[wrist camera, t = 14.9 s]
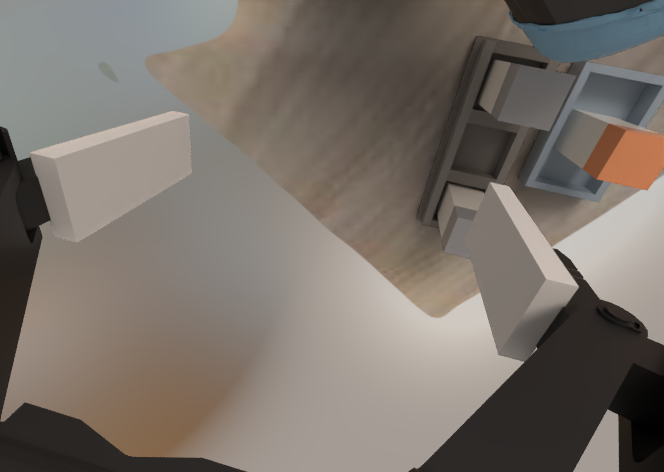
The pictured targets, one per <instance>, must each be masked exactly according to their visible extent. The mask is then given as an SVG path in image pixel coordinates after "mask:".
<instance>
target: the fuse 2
mask: <svg viewBox="0 0 664 472" xmlns="http://www.w3.org/2000/svg"><path fill="white" fill-rule="evenodd" d="M575 78H576V75H571V74H566V73H561V72H556V71H551V70H546V69H540V68H535V67H530V66H525V65H520V64H515V63H510V62H505V61H499V60H494V59H492V61H491V64H490V66H489V69H488V72H487V74H486V77H485V80H484V83H483V85H482V88H481V91H480V94H479V96H478V99H477V103H478V104H479V105H480V106H482V107H483V108H484V109H485V110H486V111H487V112H488V113H490V114H491V115H492V116H493V117H494V118H495V119H496V120H498V121H502V122H507V123H512V124H517V125H521V126H526V127H531V128H536V129H541V130H545V131H550V128H551V126H552V124H553V122H554V120H555V118H556V116H557V114H558V112H559V110H560V108H561V106H562V104H563V102H564V100H565V98H566V96H567V94H568V92H569V90H570V88H571V86H572V84H573V82H574V80H575Z"/></svg>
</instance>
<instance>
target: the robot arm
mask: <svg viewBox="0 0 664 472" xmlns="http://www.w3.org/2000/svg"><path fill="white" fill-rule="evenodd" d="M504 1H505V2H506V4H507V5H508V7H509V9H510V11H509V15H510V18H511V20H512V22H513V23H514V24H515V25H517V26H518V27H519V28H520V29H522V30H523V31H524V32H525V34H526V35H527V37H528V38H529V39H530V41H531V42H532V44H533V45H534V47H535V48H536V49H537V51H538V52H539V53H540V54H541V55H543V56H545V57H548V58H549V59H551V60H554V61H557V62H582V61H588V60H593V59H598V58H601V57H605V56H609V55H612V54H615V53H618V52H622V51H625V50H628V49H630V48H633V47H636V46H638V45H641V44H644V43H646V42H649V41H651V40H653V39H656V38H658V37H660V36H663V35H664V0H504ZM29 154H30V158H26V159H23V160H20V161H17V158H16V155H15V152H14V149H13V145H12V143H11V139H10V136H9V133H8V130H7V129H6V128H3V127H0V419H1V414H2V409H3V405H4V400H5V396H6V392H7V388H8V383H9V379H10V375H11V370H12V366H13V362H14V357H15V353H16V348H17V344H18V340H19V336H20V331H21V327H22V323H23V318H24V314H25V310H26V305H27V301H28V297H29V292H30V288H31V284H32V279H33V275H34V271H35V266H36V262H37V258H38V253H39V249H40V245H41V240H42V234H41V230H40V228H39V225H41V224H43V223H45V222H47V221H49V220H50V222H51V225H52V229H53V232H54V235H55V237H57V238H61V239H64V240H68V241H72V242H76V243H78V242H79V241H81V240H83V239H84V238H86V237H87V236H89V235H91V234H93V233H94V232H96V231H97V230H99V229H101V228H102V227H104V226H106V225H107V224H109V223H110V222H112V221H114V220H115V219H117V218H119V217H121V216H122V215H124V214H126V213H127V212H129V211H131V210H132V209H134V208H136V207H137V206H139V205H141V204H142V203H144V202H145V201H147V200H149V199H150V198H152V197H154V196H155V195H157V194H159V193H160V192H162V191H164V190H165V189H167V188H169V187H170V186H172V185H174V184H175V183H177V182H178V181H180V180H182V179H184V178H185V177H187V176H188V175H190V174H192V163H191V145H190V125H189V114H184V113H180V112H175V111H171V112H167V113H164V114H160V115H157V116H153V117H150V118H147V119H143V120H140V121H136V122H133V123H129V124H126V125H122V126H119V127H116V128H112V129H109V130H105V131H102V132H99V133H95V134H91V135H88V136H85V137H81V138H78V139H74V140H71V141H68V142H64V143H61V144H57V145H54V146H50V147H47V148H43V149H40V150H36V151H33V152H30V153H29ZM465 240H466V243H467V247H468V250H469V254H470V257H471V261H472V264H473V268H474V271H475V275H476V278H477V282H478V285H479V289H480V292H481V296H482V299H483V302H484V306H485V309H486V313H487V317H488V320H489V324H490V327H491V331H492V334H493V338H494V341H495V344H496V348H497V351H498V355H501V356H505V357H509V358H512V359H516V360H520V361H524V363H523V364H522V365H521V366H520V367H519V368H518V370H516V371H515V372H514V373H513V374H512V375H511V376H510V377H509V379H507V380H506V381H505V382H504V383H503V384H502V386H501V387H500V388H499V389H498V390H497V391H496V392H495V393H494V394H493V395H492V396H491V397H490V398H489V399H488V400H487V401H486V402H485V403H484V404H483V405H482V406H481V407H480V408H479V409H478V410H477V411H476V412H475V413H474V414H473V415H472V416H471V417H470V418H469V419H468V420H467V421H466V422H465V423H464V424H463V425H462V426H461V427H460V428H459V429H458V430H457V431H456V432H455V433H454V434H453V435H452V436H451V437H450V438H449V439H448V440H447V441H446V442H445V443H444V444H443V445H442V446H441V447H440V448H439V449H438V450H437V451H436V452H435V453H434V455H432V456H431V457H430V458H429V459H428V460H427V461H426V462H425V463H424V464H423V465H422V466H421V467H420V468H418V469H416V468H413V469H411V470H410V471H409V472H573V471H574V469H575V467H576V465H577V463H578V462H579V460H580V458H581V456H582V454H583V453H584V451H585V449H586V447H587V445H588V443H589V442H590V440H591V438H592V436H593V434H594V433H595V431H596V429H597V427H598V425H599V424H600V422H601V420H602V418H603V416H604V415H605V413H606V411H607V409H608V410H610V411H612V412H614V413H616V414H618V416H619V472H664V345H662V344H660V343H657V342H655V341H653V340H650V339H648V338H647V337H648V331H647V329H646V328H645V326H644V325H643V323H642V322H641V321H639V320H638V319H637V318H636V317H635V316H634V315H632V314H631V313H629V312H628V311H626V310H624V309H623V308H621V307H619V306H617V305H615V304H612V303H610V302H607V301H603V300H600V299H599V298H598V297H597V295H596V294H595V293H594V291H593V290H592V288H591V287H590V286H589V284H588V283H587V282H586V281H585V280H584V279H583V276H582V275H581V274H580V272H579V271H577V268H576V267H575V265H574V264H573V263H572V261H571V260H570V259H569V258H568V257H566V256H565V255H564V254H562V253H561V252H560V251H559V250H557V249H553V248H552V247H551V246H550V245H549V243H548V242H547V240H546V239H545V237H544V236H543V234H542V233H541V232H540V230H539V229H538V227H537V226H536V224H535V223H534V222H533V220H532V219H531V217H530V216H529V214H528V213H527V211H526V210H525V209H524V207H523V206H522V204H521V203H520V201H519V200H518V199H517V197H516V196H515V194H514V193H513V191H512V190H511V188H510V187H509V186H505V185H501V184H496V183H492V182H490V183H489V185H488V188H487V190H486V192H485V195H484V197H483V199H482V201H481V204H480V206H479V208H478V211H477V213H476V215H475V217H474V220H473V222H472V224H471V227H470V229H469V231H468V233H467V236H466V238H465ZM536 347H537V350H536V351H535V352H534V353H533V351H534V350H535V349H536ZM532 353H533V354H532ZM531 354H532V355H531ZM0 472H246V471H242V470H239V469H236V468H233V467H230V466H227V465H223V464H220V463H217V462H214V461H211V460H207V459H204V458H171V457H170V458H168V457H167V458H165V457H131V456H128V455H125V454H124V453H122V452H121V451H120V450H118V449H117V448H116V447H114V446H113V445H112V444H111V443H109V442H108V441H107V440H105V439H104V438H103V437H102V436H101V435H99V434H98V433H97V432H95V431H94V430H93V429H92V428H90V427H89V426H88V425H87V424H85V423H84V422H83V421H81V420H80V419H76V418H73V417H70V416H67V415H64V414H60V413H57V412H54V411H51V410H48V409H44V408H41V407H38V406H35V405H31V404H28V403H24V404H23V405H22V406H21V407H19V408H18V409H17V410H16V411H15V412H14V413H13V414H12V415H11V416H10V417H9V418H8V419H7V420H6V421H5V422H0Z"/></svg>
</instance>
